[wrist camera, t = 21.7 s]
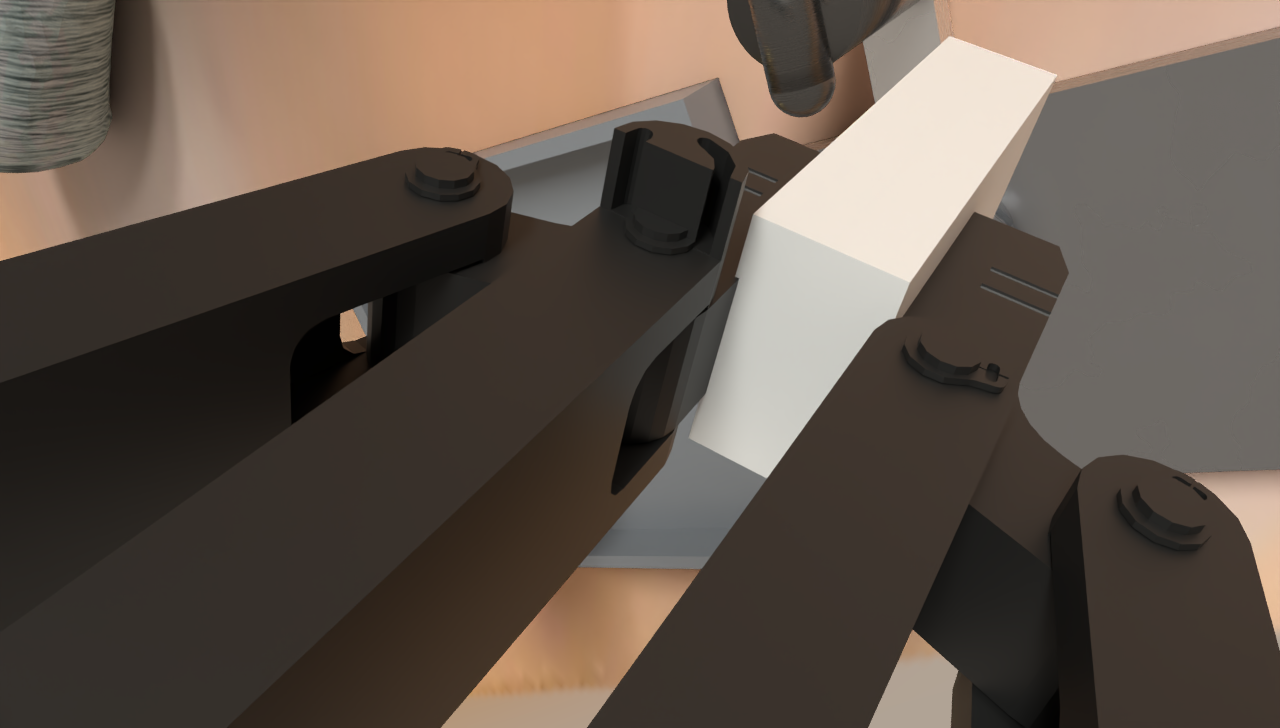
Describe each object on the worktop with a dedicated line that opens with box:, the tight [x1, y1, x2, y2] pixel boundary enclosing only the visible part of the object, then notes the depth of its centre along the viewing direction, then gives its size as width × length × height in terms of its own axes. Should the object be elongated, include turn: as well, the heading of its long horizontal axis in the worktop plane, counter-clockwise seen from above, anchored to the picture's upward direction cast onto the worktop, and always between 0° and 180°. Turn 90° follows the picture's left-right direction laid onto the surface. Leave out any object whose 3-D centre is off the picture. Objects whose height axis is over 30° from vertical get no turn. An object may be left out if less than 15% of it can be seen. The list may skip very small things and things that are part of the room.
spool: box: [0, 0, 115, 173], centre depth 45 cm, size 14×10×10 cm
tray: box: [353, 78, 767, 569], centre depth 42 cm, size 18×19×2 cm
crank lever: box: [727, 0, 1007, 225], centre depth 26 cm, size 13×3×9 cm, turn 18°
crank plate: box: [804, 27, 1280, 473], centre depth 31 cm, size 12×16×1 cm
